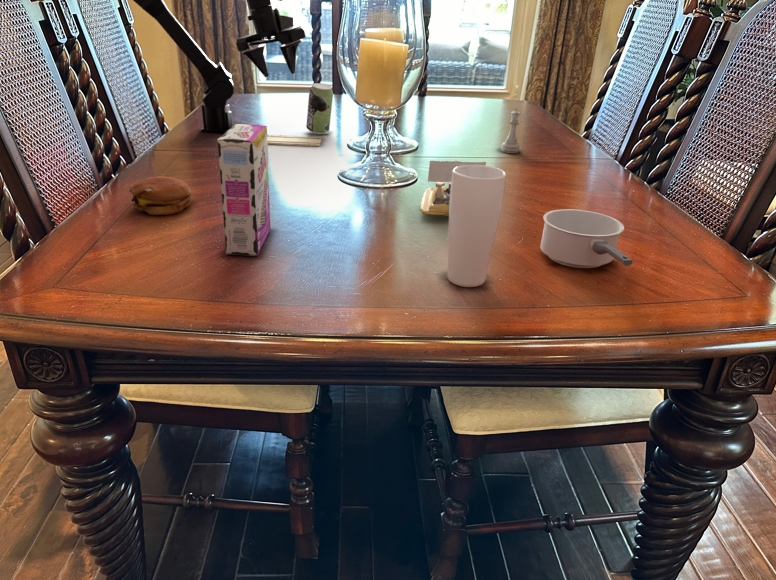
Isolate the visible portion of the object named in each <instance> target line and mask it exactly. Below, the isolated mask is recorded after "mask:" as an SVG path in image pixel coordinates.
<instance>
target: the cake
mask: <svg viewBox="0 0 776 580" xmlns="http://www.w3.org/2000/svg"><path fill="white" fill-rule="evenodd" d="M462 165H485V166H487V162H486V161H477V162H476V161H458V160H454V161H453V160H452V161H449V160H445V161H444V160H443V161H440V160H429V165H428V167H429V168H428V174H427V182H433V183H435V186H434V187H427V188H426V189H425V191H424V193H423V195H422V196H421V201H420V206H419V212H420V213H421V214H423V215H432V216H446V217H447V216H448V217H449V199H450V188H451V181H452V174H453V169H454V168H456V167H458V166H462ZM446 183H448V185H447V186H445V185H446ZM540 205H541V206H543V203H540Z"/></svg>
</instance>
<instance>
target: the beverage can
mask: <svg viewBox="0 0 776 580" xmlns="http://www.w3.org/2000/svg"><path fill="white" fill-rule="evenodd" d="M333 100H334V92H333V89H332V86H331V85H329V84H327V83H322V82H313V83H312V84H311V87H310V88H309V90H308V103H307V115H306V126H305V127H306V130H308V132H310V133H311V134H315V135H324V134H326V133H328V132H329V131H330V125H331V118H332V107H333Z"/></svg>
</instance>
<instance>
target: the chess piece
mask: <svg viewBox="0 0 776 580" xmlns="http://www.w3.org/2000/svg"><path fill="white" fill-rule="evenodd" d="M510 115H511V119H510V121H508V124H509V125H510V129H509V133H508V135H507V137H506V138H505V141H503V142H502V144H501V147H500V151H501V152H502V153H506V154H518V153H519V152H520V143H519V142H518V138H517V126H518V125H520V122H519V120H518V118H519V117H520V115H521V112H520V111H518V108H515V109H514V110H513V111H510Z"/></svg>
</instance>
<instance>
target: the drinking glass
mask: <svg viewBox="0 0 776 580" xmlns="http://www.w3.org/2000/svg"><path fill="white" fill-rule="evenodd" d="M506 180H507V173H506V172H505V170H503V169H501V168H498V167H496V166H491V165H486V166H485V165H462V166H458V167H456V168H454V169H453V174H452V181H451V182H450V183H451V188H450V199H449V216H448V242H447V243H448V248H447V251H448V253H447V256H448V257H447V269H446V270H447V271H446V277H447V279H448V281H449V282H450V283H451V284H453V285H455V286H458V287H463V288H476V287H480V286H482V285H483V284H484V283H486V280H487V277H488V276H487V275H488V268H489V264H490V259H491V255H492V251H493V247H494V243H495V238H496V234H497V229H498V225H499V222H500V217H501V213H502V208H503V202H504V197H505V190H506V183H507V182H506Z"/></svg>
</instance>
